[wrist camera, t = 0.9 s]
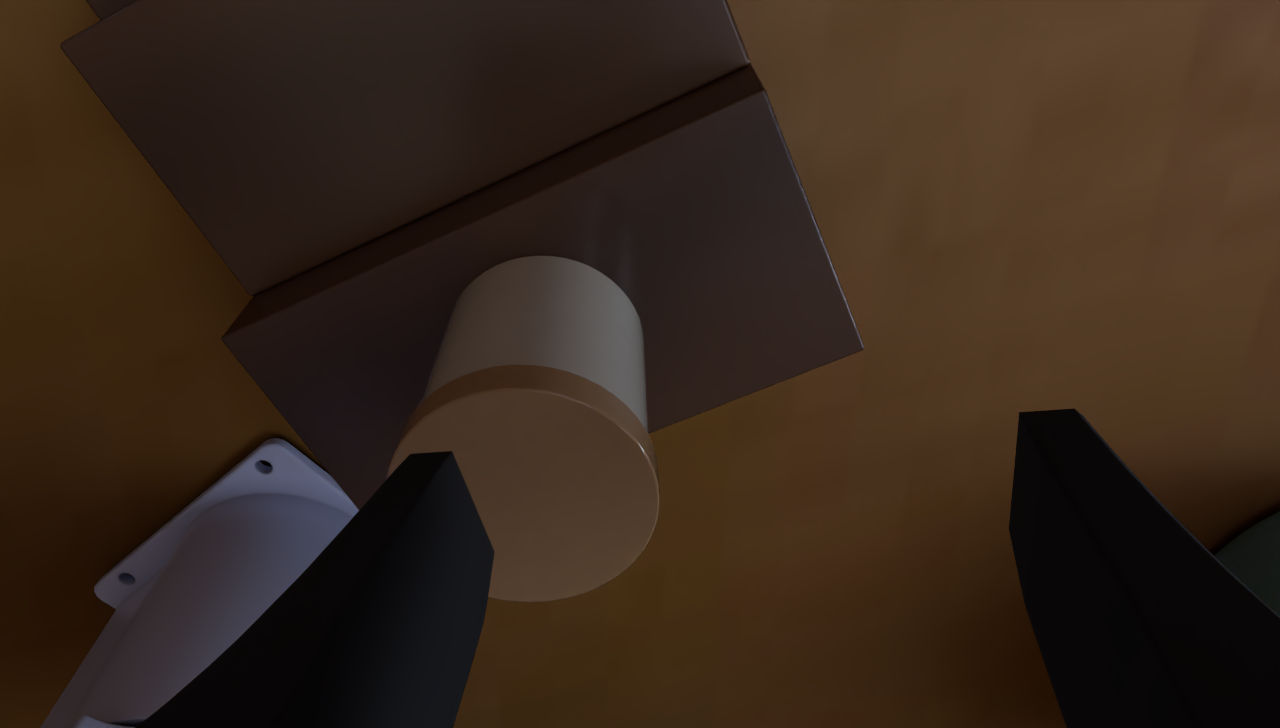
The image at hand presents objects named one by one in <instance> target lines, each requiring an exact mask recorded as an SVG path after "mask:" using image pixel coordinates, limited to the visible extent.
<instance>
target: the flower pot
mask: <svg viewBox="0 0 1280 728" xmlns="http://www.w3.org/2000/svg"><path fill="white" fill-rule="evenodd" d="M1214 556H1215V557H1216V558H1217V559H1218V560H1219V561H1220V562H1221V563H1222V564H1223V565H1224V566H1225V567H1226V568H1227V569H1228V570H1229V571H1230V572H1231V573H1232V574H1233V575H1235V576H1236V577H1237V578H1238V579H1239V580H1240V581H1241V582H1242V583H1243V584H1244V585H1245V586H1247V587H1248V588H1249V589H1250V590H1251V591H1252V592H1253V593H1254V594H1255V595H1257V596H1258V597H1259V598H1260V599H1261V600H1262V601H1263V602H1264V603H1265V604H1267V605H1268V606H1269V607H1270V608H1271V609H1272V610H1273V611H1274V612H1275V613H1276V614H1278V615H1279V616H1280V511H1279V512H1277V513H1275V514H1273V515H1271V516H1269V517H1268V518H1266V519H1264V520H1262V521H1260V522H1258V523H1257V524H1255V525H1254V526H1252V527H1251V528H1249V529H1247V530H1246V531H1244V532H1243V533H1241V534H1240V535H1238V536H1237V537H1236V538H1235V539H1233V540H1232V541H1231V542H1230V543H1228V544H1227V545H1226V546H1225V547H1223V548H1222V549H1221V550H1220V551H1219V552H1218V553H1216V554H1215V555H1214Z"/></svg>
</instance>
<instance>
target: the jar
mask: <svg viewBox="0 0 1280 728" xmlns="http://www.w3.org/2000/svg"><path fill="white" fill-rule="evenodd" d="M445 451H452V452H453V454H454V457H455V459H456V462H457V464H458V466H459V469H460V471H461V473H462V476H463V478H464V480H465V483H466V485H467V488H468V490H469V492H470V495H471V497H472V499H473V502H474V504H475V506H476V509H477V511H478V514H479V516H480V518H481V521H482V523H483V525H484V528H485V530H486V532H487V535H488V537H489V540H490V542H491V544H492V547H493V549H494V551H495V553H494V560H493V567H492V574H491V581H490V588H489V594H488V597H489V598H494V599H500V600H505V601H515V602H543V601H554V600H559V599H564V598H569V597H573V596H576V595H579V594H583V593H586V592H588V591H590V590H593V589H595V588H598V587H600V586H601V585H603V584H605V583H607V582H609V581H610V580H612V579H614V578H615V577H616V576H618V575H619V574H620V573H622V572H623V571H624V570H625V569H627V568H628V567H629V566H630V565H631V564H632V563H633V562H634V561H635V560H636V559H637V557H638V556H639V555H640V554H641V552H642V551H643V550H644V548H645V547H646V545H647V543H648V541H649V540H650V538H651V536H652V534H653V531H654V528H655V526H656V523H657V518H658V514H659V504H660V490H659V474H658V464H657V457H656V454H655V450H654V447H653V444H652V442H651V439H650V437H649V435H648V419H647V398H646V377H645V356H644V339H643V330H642V327H641V323H640V319H639V317H638V315H637V312H636V310H635V308H634V306H633V305H632V303H631V301H630V300H629V298H628V297H627V296H626V295H625V293H624V292H623V291H622V290H621V288H619V287H618V286H617V285H616V284H615V283H614V282H613V281H612V280H611V279H609V278H608V277H607V276H605V275H604V274H602V273H601V272H599V271H597V270H595V269H594V268H592V267H590V266H588V265H585V264H583V263H580V262H578V261H574V260H571V259H567V258H562V257H555V256H529V257H521V258H517V259H513V260H509V261H506V262H504V263H501V264H498V265H496V266H494V267H492V268H491V269H489V270H487V271H485V272H484V273H483V274H481V275H480V276H478V277H477V278H476V279H475V280H474V281H473V282H472V283H470V284H469V285H468V286H467V288H466V289H465V290H464V291H463V293H462V294H461V295H460V297H459V299H458V300H457V302H456V304H455V306H454V308H453V311H452V314H451V316H450V319H449V322H448V325H447V328H446V331H445V333H444V336H443V339H442V342H441V345H440V348H439V351H438V354H437V357H436V360H435V362H434V365H433V368H432V371H431V374H430V377H429V380H428V383H427V386H426V389H425V391H424V394H423V397H422V400H421V403H420V404H419V406H418V407H417V408H416V409H415V411H414V412H413V413H412V414H411V415H410V417H409V419H408V420H407V422H406V424H405V426H404V427H403V429H402V432H401V435H400V437H399V440H398V443H397V445H396V448H395V451H394V454H393V457H392V459H391V462H390V465H389V469H388V474H387V478H388V477H389V476H390V475H391V474H392V473H393V472H394V471H395V469H396V468H397V467H398V466H399V465H400V464H401V463H402V462H403V461H404V460H405V459H406V458H407V457H408V456H409V455H410V454H415V453H430V452H445Z"/></svg>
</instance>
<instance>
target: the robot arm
mask: <svg viewBox="0 0 1280 728" xmlns="http://www.w3.org/2000/svg"><path fill="white" fill-rule="evenodd" d="M260 460H265V461H267V462H269V463H270V464H271V465H272V466H266V465H264V464H262V463H261V462H260ZM1009 531H1010V536H1011V541H1012V546H1013V551H1014V555H1015V560H1016V565H1017V570H1018V575H1019V579H1020V584H1021V588H1022V593H1023V597H1024V602H1025V606H1026V609H1027V612H1028V615H1029V618H1030V621H1031V624H1032V627H1033V630H1034V633H1035V636H1036V639H1037V642H1038V645H1039V648H1040V651H1041V654H1042V657H1043V660H1044V663H1045V666H1046V669H1047V672H1048V674H1049V677H1050V680H1051V683H1052V686H1053V689H1054V692H1055V695H1056V698H1057V701H1058V703H1059V706H1060V709H1061V712H1062V715H1063V718H1064V721H1065V724H1066V727H1067V728H1280V616H1279V615H1278V614H1276V613H1275V612H1274V611H1273V610H1272V609H1271V608H1270V607H1269V606H1268V605H1267V604H1265V603H1264V602H1263V601H1262V600H1261V599H1260V598H1259V597H1258V596H1257V595H1255V594H1254V593H1253V592H1252V591H1251V590H1250V589H1249V588H1248V587H1247V586H1245V585H1244V584H1243V583H1242V582H1241V581H1240V580H1239V579H1238V578H1237V577H1236V576H1235V575H1233V574H1232V573H1231V572H1230V571H1229V570H1228V569H1227V568H1226V567H1225V566H1224V565H1223V564H1222V563H1221V562H1220V561H1219V560H1218V559H1217V558H1216V557H1215V556H1213V555H1212V554H1211V553H1210V552H1209V551H1208V550H1207V549H1206V548H1205V547H1204V546H1203V545H1202V544H1201V543H1200V542H1199V541H1198V540H1197V539H1196V538H1195V537H1194V536H1193V535H1192V534H1191V533H1190V532H1189V531H1188V530H1187V529H1186V528H1185V527H1184V526H1183V525H1182V524H1181V523H1180V522H1179V521H1178V520H1177V519H1176V518H1175V517H1174V516H1173V515H1172V514H1171V513H1170V512H1169V511H1168V510H1167V509H1166V507H1165V506H1164V505H1163V504H1162V503H1161V502H1160V501H1159V500H1158V499H1157V498H1156V497H1155V496H1154V495H1153V494H1152V493H1151V492H1150V491H1149V490H1148V488H1147V487H1146V486H1145V485H1144V484H1143V483H1142V482H1141V481H1140V480H1139V479H1138V478H1137V477H1136V475H1135V474H1134V473H1133V472H1132V471H1131V470H1130V469H1129V468H1128V467H1127V466H1126V464H1125V463H1124V462H1123V461H1122V460H1121V459H1120V458H1119V457H1118V456H1117V454H1116V453H1115V452H1114V451H1113V450H1112V449H1111V448H1110V446H1109V445H1108V444H1107V443H1106V442H1105V441H1104V440H1103V438H1102V437H1101V436H1100V435H1099V434H1098V433H1097V431H1096V430H1095V429H1094V428H1093V427H1092V426H1091V424H1090V423H1089V422H1088V421H1087V420H1086V419H1085V417H1084V416H1083V415H1082V414H1080V413H1079V412H1078V411H1077V410H1075V409H1063V410H1048V411H1033V412H1019V423H1018V434H1017V445H1016V456H1015V468H1014V479H1013V490H1012V501H1011V512H1010V523H1009ZM494 553H495V551H494V549H493V547H492V544H491V542H490V540H489V537H488V535H487V532H486V530H485V528H484V525H483V523H482V521H481V518H480V516H479V514H478V511H477V509H476V506H475V504H474V502H473V499H472V497H471V495H470V492H469V490H468V488H467V485H466V483H465V480H464V478H463V476H462V473H461V471H460V469H459V466H458V464H457V462H456V459H455V457H454V454H453V452H452V451H445V452H430V453H415V454H410V455H409V456H408V457H407V458H406V459H405V460H404V461H403V462H402V463H401V464H400V465H399V466H398V467H397V468H396V469H395V471H394V472H393V473H392V474H391V475H390V476H389V477H388V478H387V479H386V481H385V482H384V483H383V484H382V485H381V486H380V487H379V488H378V490H377V491H376V492H375V493H374V494H373V495H372V496H371V498H370V499H369V500H368V501H367V502H366V503H365V504H364V506H363V507H362V508H361V509H360V510H358V509H357V507H356V506H355V505H354V504H353V502H352V501H351V500H350V499H349V497H348V496H347V495H346V494H345V492H344V491H343V490H342V489H341V487H340V486H339V485H338V484H337V483H336V481H335V480H334V479H333V478H332V476H331V475H329V474H328V473H327V472H325V471H324V470H323V469H322V468H320V467H319V466H318V465H316V464H315V463H314V462H313V461H311V460H310V459H309V458H307V457H306V456H305V455H304V454H302V453H301V452H300V451H298V450H297V449H296V448H295V447H293V446H292V445H291V444H289V443H288V442H286V441H284V440H282V439H278V438H273V439H268V440H266V441H265V442H263V443H262V444H261V445H260V446H259V447H257V448H256V449H255V450H254V451H253V452H251V453H250V454H249V455H248V456H247V457H245V458H244V459H243V460H242V461H241V462H239V463H238V464H237V465H236V466H235V467H233V468H232V469H231V470H230V471H229V472H227V473H226V474H225V475H224V476H222V477H221V478H220V479H219V480H218V481H216V482H215V483H214V484H213V485H212V486H210V487H209V488H208V489H207V490H206V491H204V492H203V493H202V494H201V495H200V496H198V497H197V498H196V499H195V500H194V501H192V502H191V503H190V504H189V505H188V506H186V507H185V508H184V509H183V510H182V511H180V512H179V513H178V514H177V515H176V516H174V517H173V518H172V519H171V520H170V521H168V522H167V523H166V524H165V525H164V526H162V527H161V528H160V529H159V530H158V531H156V532H155V533H154V534H153V535H152V536H150V537H149V538H148V539H147V540H146V541H144V542H143V543H142V544H141V545H140V546H138V547H137V548H136V549H135V550H133V551H132V552H131V553H130V554H129V555H127V556H126V557H125V558H124V559H123V560H121V561H120V562H119V563H118V564H117V565H115V566H114V567H113V568H112V569H111V570H109V571H108V572H107V573H106V574H105V575H103V576H102V577H101V578H100V580H99V581H98V583H97V584H96V585H95V587H94V592H95V594H96V596H97V597H98V598H99V599H100V600H102V601H103V602H105V603H107V604H108V605H110V606H111V607H113V608H115V609H116V611H115V612H114V614H113V615H112V617H111V618H110V620H109V621H108V623H107V625H106V626H105V628H104V629H103V631H102V632H101V634H100V635H99V637H98V639H97V640H96V642H95V643H94V645H93V646H92V648H91V649H90V651H89V653H88V654H87V656H86V657H85V659H84V660H83V662H82V663H81V665H80V667H79V668H78V670H77V671H76V673H75V674H74V676H73V677H72V679H71V681H70V682H69V684H68V685H67V687H66V688H65V690H64V691H63V693H62V695H61V696H60V698H59V699H58V701H57V702H56V704H55V705H54V707H53V709H52V710H51V712H50V713H49V715H48V716H47V718H46V719H45V721H44V723H43V724H42V726H41V727H40V728H453V725H454V722H455V719H456V715H457V712H458V709H459V705H460V702H461V698H462V695H463V692H464V688H465V685H466V682H467V678H468V675H469V672H470V668H471V665H472V661H473V658H474V654H475V651H476V647H477V644H478V641H479V637H480V633H481V630H482V626H483V622H484V617H485V611H486V606H487V600H488V594H489V588H490V581H491V574H492V567H493V560H494ZM127 573H128V574H131V575H132V576H131V575H128V574H127Z"/></svg>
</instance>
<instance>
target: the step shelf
mask: <svg viewBox="0 0 1280 728" xmlns="http://www.w3.org/2000/svg"><path fill="white" fill-rule="evenodd" d="M86 1H87V2H88V3H89V5H90V6H91V8H92V9H93V10H94V12H95V13H96V14H97V16H98V17H99V18H100V20H101V21H99V22H97V23H96V24H94V25H92V26H90V27H88V28H87V29H85V30H83V31H81V32H80V33H78V34H76V35H74V36H72V37H71V38H69V39H67V40H65V41H64V42H62V43H61V45H60V47H61V49H62V50H63V52H64V53H65V54H66V56H67V57H68V58H69V59H70V61H71V62H72V63H73V65H74V66H75V67H76V69H77V70H78V71H79V73H80V74H81V75H82V76H83V78H84V79H85V80H86V82H87V83H88V84H89V86H90V87H91V88H92V90H93V91H94V92H95V93H96V95H97V96H98V97H99V99H100V100H101V101H102V103H103V104H104V105H105V107H106V108H107V109H108V110H109V112H110V113H111V114H112V116H113V117H114V118H115V120H116V121H117V122H118V124H119V125H120V126H121V127H122V129H123V130H124V131H125V133H126V134H127V135H128V137H129V138H130V139H131V141H132V142H133V143H134V144H135V146H136V147H137V148H138V150H139V151H140V152H141V154H142V155H143V156H144V158H145V159H146V160H147V161H148V163H149V164H150V165H151V167H152V168H153V169H154V171H155V172H156V173H157V175H158V176H159V177H160V178H161V180H162V181H163V182H164V184H165V185H166V186H167V188H168V189H169V190H170V192H171V193H172V194H173V195H174V197H175V198H176V199H177V201H178V202H179V203H180V205H181V206H182V207H183V209H184V210H185V211H186V212H187V214H188V215H189V216H190V218H191V219H192V220H193V222H194V223H195V224H196V226H197V227H198V228H199V229H200V231H201V232H202V233H203V235H204V236H205V237H206V239H207V240H208V241H209V243H210V244H211V245H212V246H213V248H214V249H215V250H216V252H217V253H218V254H219V256H220V257H221V258H222V260H223V261H224V262H225V263H226V265H227V266H228V267H229V269H230V270H231V271H232V273H233V274H234V275H235V277H236V278H237V279H238V280H239V282H240V283H241V284H242V286H243V287H244V288H245V290H246V291H247V292H248V294H249V295H250V296H254V297H253V298H252V299H251V300H250V302H249V303H248V304H247V306H246V307H245V308H244V309H243V311H242V312H241V313H240V315H239V316H238V317H237V318H236V320H235V321H234V322H233V324H232V325H231V326H230V327H229V329H228V330H227V331H226V333H225V334H224V335H223V336H222V338H221V339H222V341H223V342H224V343H225V345H226V346H227V347H228V348H229V350H230V351H231V352H232V353H233V355H234V356H235V357H236V358H237V360H238V361H239V362H240V363H241V365H242V366H243V367H244V368H245V370H246V371H247V372H248V373H249V375H250V376H251V377H252V378H253V379H254V381H255V382H256V383H257V384H258V386H259V387H260V388H261V389H262V391H263V392H264V393H265V394H266V396H267V397H268V398H269V399H270V401H271V402H272V403H273V404H274V406H275V407H276V408H277V409H278V411H279V412H280V413H281V414H282V415H283V417H284V418H285V419H286V420H287V422H288V423H289V424H290V425H291V427H292V428H293V429H294V430H295V432H296V433H297V434H298V435H299V437H300V438H301V439H302V440H303V442H304V443H305V444H306V445H307V447H308V448H309V449H310V450H311V451H312V453H313V454H314V455H315V456H316V458H317V459H318V460H319V461H320V463H321V464H322V465H323V466H324V468H325V469H326V470H327V471H328V473H329V474H330V475H331V476H332V478H333V479H334V480H335V481H336V483H337V484H338V485H339V486H340V487H341V489H342V490H343V491H344V492H345V494H346V495H347V496H348V497H349V499H350V500H351V501H352V502H353V504H354V505H355V506H356V507H357V509H358V510H360V509H361V508H362V507H363V506H364V504H365V503H366V502H367V501H368V500H369V499H370V498H371V496H372V495H373V494H374V493H375V492H376V491H377V490H378V488H379V487H380V486H381V485H382V484H383V483H384V482H385V481H386V479H387V474H388V469H389V465H390V462H391V459H392V457H393V454H394V451H395V448H396V445H397V443H398V440H399V437H400V435H401V432H402V429H403V427H404V426H405V424H406V422H407V420H408V419H409V417H410V415H411V414H412V413H413V412H414V411H415V409H416V408H417V407H418V406H419V404H420V403H421V400H422V397H423V394H424V391H425V389H426V386H427V383H428V380H429V377H430V374H431V371H432V368H433V365H434V362H435V360H436V357H437V354H438V351H439V348H440V345H441V342H442V339H443V336H444V333H445V331H446V328H447V325H448V322H449V319H450V316H451V314H452V311H453V308H454V306H455V304H456V302H457V300H458V299H459V297H460V295H461V294H462V293H463V291H464V290H465V289H466V288H467V286H468V285H469V284H470V283H472V282H473V281H474V280H475V279H476V278H477V277H478V276H480V275H481V274H483V273H484V272H485V271H487V270H489V269H491V268H492V267H494V266H496V265H498V264H501V263H504V262H506V261H509V260H513V259H517V258H521V257H529V256H555V257H562V258H567V259H571V260H574V261H578V262H580V263H583V264H585V265H588V266H590V267H592V268H594V269H595V270H597V271H599V272H601V273H602V274H604V275H605V276H607V277H608V278H609V279H611V280H612V281H613V282H614V283H615V284H616V285H617V286H618V287H619V288H621V290H622V291H623V292H624V293H625V295H626V296H627V297H628V298H629V300H630V301H631V303H632V305H633V306H634V308H635V310H636V312H637V315H638V317H639V319H640V323H641V327H642V330H643V339H644V356H645V377H646V398H647V419H648V433H651V432H654V431H656V430H659V429H661V428H664V427H666V426H669V425H672V424H674V423H677V422H679V421H682V420H684V419H687V418H689V417H692V416H695V415H697V414H700V413H702V412H705V411H707V410H710V409H713V408H715V407H718V406H720V405H723V404H725V403H728V402H731V401H733V400H736V399H738V398H741V397H743V396H746V395H749V394H751V393H754V392H756V391H759V390H761V389H764V388H767V387H769V386H772V385H774V384H777V383H779V382H782V381H785V380H787V379H790V378H792V377H795V376H797V375H800V374H803V373H805V372H808V371H810V370H813V369H815V368H818V367H820V366H823V365H826V364H828V363H831V362H833V361H836V360H838V359H841V358H844V357H846V356H849V355H851V354H854V353H856V352H859V351H862V350H863V349H864V345H863V342H862V340H861V337H860V334H859V332H858V329H857V327H856V324H855V321H854V319H853V316H852V314H851V311H850V308H849V306H848V303H847V301H846V298H845V295H844V293H843V290H842V288H841V285H840V282H839V280H838V277H837V275H836V272H835V269H834V267H833V264H832V262H831V259H830V256H829V254H828V251H827V249H826V246H825V243H824V241H823V238H822V236H821V233H820V230H819V228H818V225H817V223H816V220H815V217H814V215H813V212H812V210H811V207H810V204H809V202H808V199H807V197H806V194H805V191H804V189H803V186H802V184H801V181H800V178H799V176H798V173H797V171H796V168H795V166H794V163H793V160H792V158H791V155H790V153H789V150H788V147H787V145H786V142H785V140H784V137H783V134H782V132H781V129H780V127H779V124H778V121H777V119H776V116H775V114H774V111H773V108H772V106H771V103H770V101H769V98H768V95H767V93H766V90H765V88H764V87H763V85H762V83H761V81H760V79H759V78H758V76H757V74H756V72H755V70H754V69H753V67H752V65H751V63H750V59H749V56H748V54H747V51H746V49H745V46H744V43H743V41H742V38H741V36H740V33H739V31H738V28H737V25H736V23H735V20H734V18H733V15H732V13H731V10H730V7H729V5H728V2H727V0H86Z"/></svg>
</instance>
